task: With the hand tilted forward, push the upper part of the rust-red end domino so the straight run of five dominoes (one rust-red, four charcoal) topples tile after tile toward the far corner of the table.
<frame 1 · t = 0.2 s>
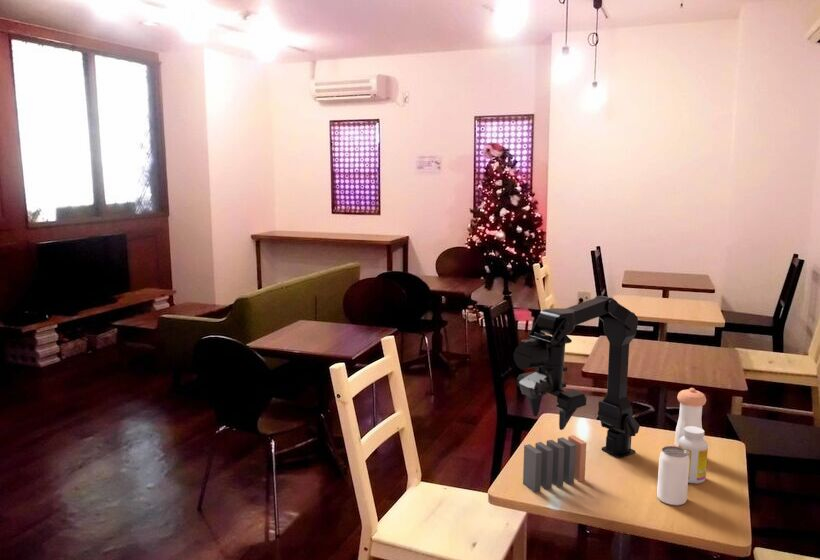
hand: (548, 422, 160), 15 cm above the table, tool pointing down, fingers open, 9 cm apart
domino 2: (564, 479, 161), on the table
domino 5: (531, 487, 157), on the table
can: (671, 500, 152), on the table
domino 4: (542, 484, 159), on the table
salt shaker: (687, 457, 174), on the table
domino 3: (553, 482, 160), on the table
domino 1: (575, 476, 163), on the table
supplement bottle: (690, 479, 162), on the table
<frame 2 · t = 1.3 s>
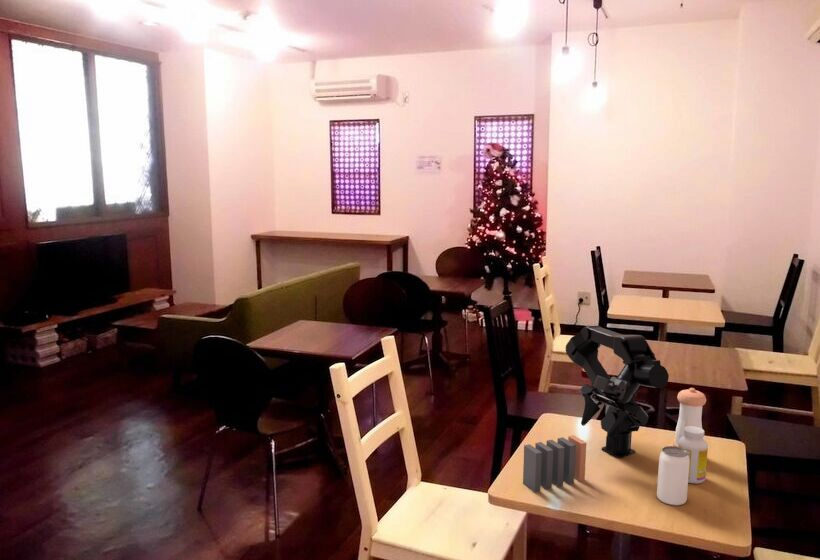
hand: (594, 431, 164), 11 cm above the table, tool tilted 45°, fingers open, 8 cm apart
nothing on the table moved.
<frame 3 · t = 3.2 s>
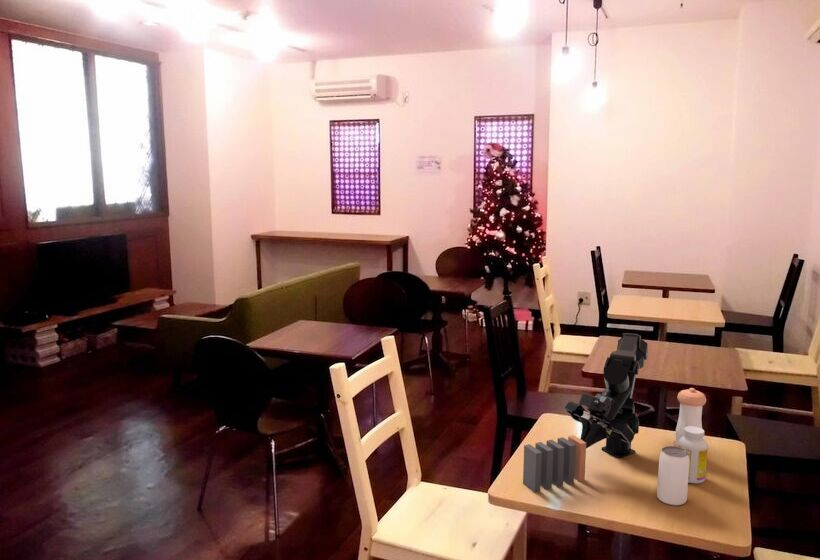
hand: (580, 449, 162), 7 cm above the table, tool tilted 45°, fingers closed
domino 1: (575, 476, 163), on the table, touching gripper
everything else where it was.
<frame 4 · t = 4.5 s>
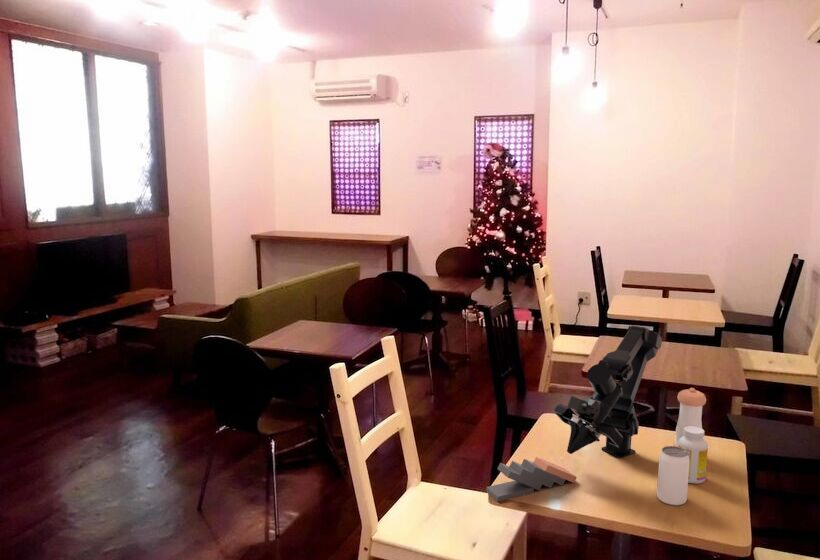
hand: (568, 452, 160), 7 cm above the table, tool tilted 45°, fingers closed
domino 2: (558, 478, 160), point 1 cm above the table, tilted 61°, touching domino 1, domino 3
domino 5: (527, 486, 157), on the table, tilted 90°, touching domino 4
domino 4: (535, 482, 158), point 1 cm above the table, tilted 61°, touching domino 3, domino 5
domino 3: (546, 480, 159), point 1 cm above the table, tilted 61°, touching domino 2, domino 4
domino 1: (569, 475, 162), point 1 cm above the table, tilted 61°, touching domino 2
everything else where it was.
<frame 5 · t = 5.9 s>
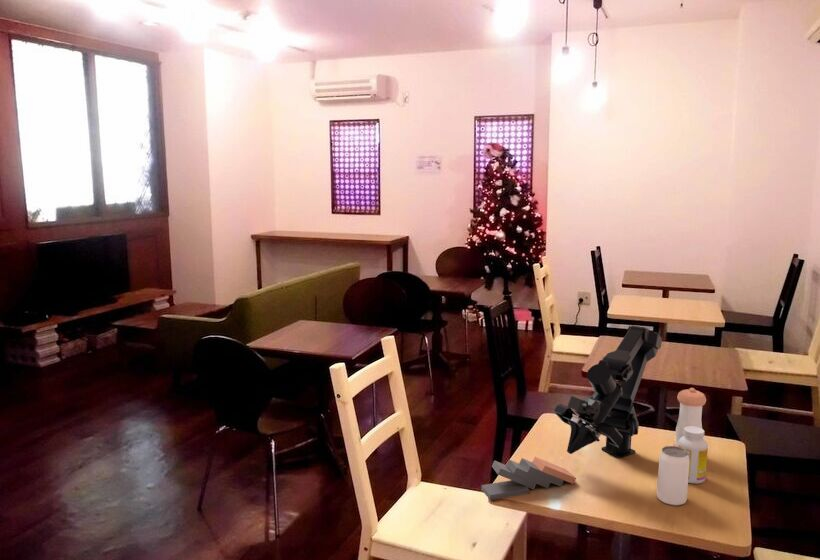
hand: (568, 452, 160), 7 cm above the table, tool tilted 45°, fingers closed
domino 4: (531, 482, 158), point 1 cm above the table, tilted 63°, touching domino 3, domino 5
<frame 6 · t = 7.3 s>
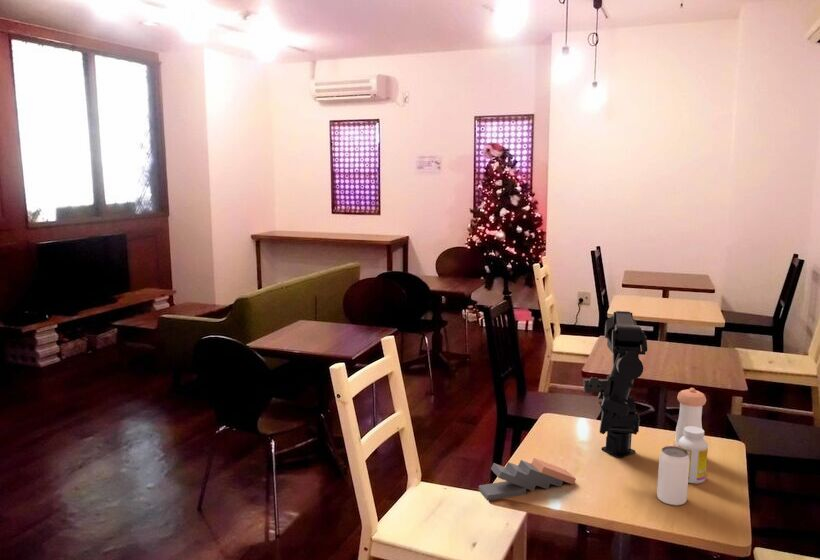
hand: (601, 433, 164), 10 cm above the table, tool tilted 20°, fingers closed
domino 2: (556, 479, 160), point 1 cm above the table, tilted 63°, touching domino 1, domino 3
domino 5: (521, 487, 156), on the table, tilted 90°
domino 4: (530, 483, 158), point 1 cm above the table, tilted 63°, touching domino 3
domino 3: (543, 481, 159), point 1 cm above the table, tilted 63°, touching domino 2, domino 4
everything else where it was.
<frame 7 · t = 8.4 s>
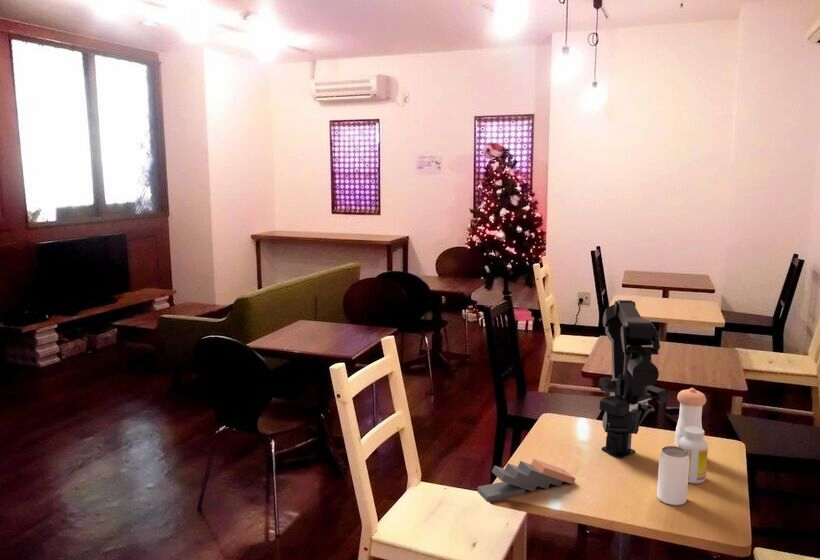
hand: (632, 433, 160), 12 cm above the table, tool pointing down, fingers closed
domino 2: (555, 479, 160), point 1 cm above the table, tilted 63°, touching domino 1, domino 3
domino 5: (519, 487, 156), point 1 cm above the table, tilted 90°, touching domino 4
domino 4: (530, 484, 157), point 1 cm above the table, tilted 63°, touching domino 3, domino 5
domino 3: (543, 481, 159), point 1 cm above the table, tilted 63°, touching domino 2, domino 4
everything else where it was.
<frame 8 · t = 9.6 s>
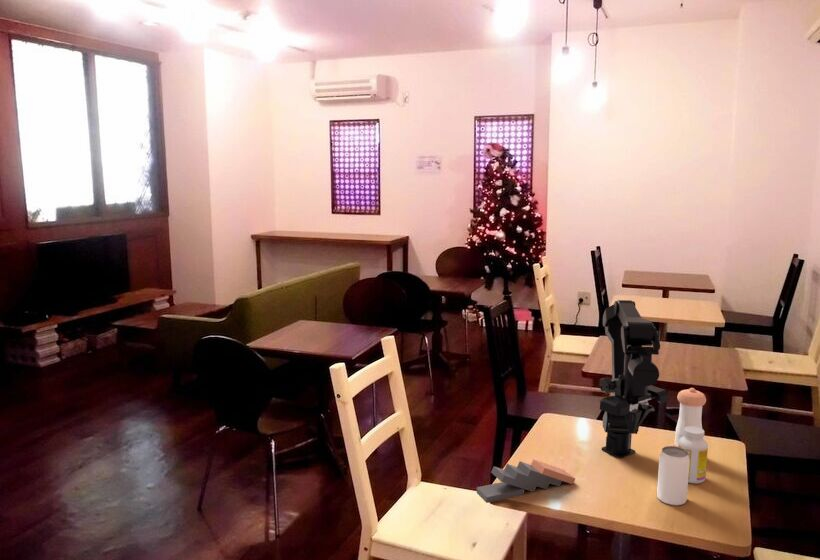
hand: (632, 433, 160), 12 cm above the table, tool pointing down, fingers closed
domino 4: (529, 484, 157), point 1 cm above the table, tilted 64°, touching domino 3, domino 5
domino 3: (542, 481, 159), point 1 cm above the table, tilted 64°, touching domino 2, domino 4
at the end: domino 5 tilted 90°; domino 1 tilted 64° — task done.
